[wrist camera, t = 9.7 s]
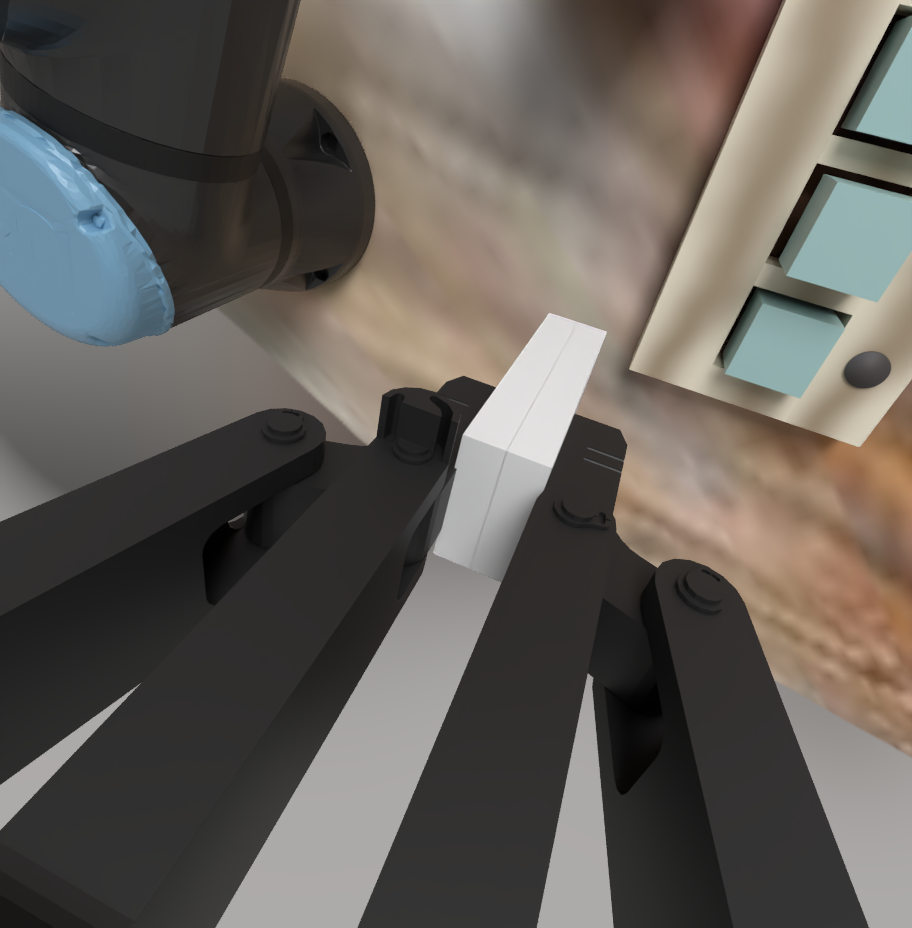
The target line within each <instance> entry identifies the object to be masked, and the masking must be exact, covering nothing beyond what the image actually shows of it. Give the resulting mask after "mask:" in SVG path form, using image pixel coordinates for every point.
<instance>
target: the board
mask: <svg viewBox="0 0 912 928" xmlns="http://www.w3.org/2000/svg"><path fill="white" fill-rule="evenodd" d="M894 14H897V15H902V16H906V17H909V16H911V15H912V0H783V1H782V3H781V6H780V8H779V10H778V13H777V15H776V17H775V20H774V22H773V24H772V27H771V29H770V32H769V34H768V36H767V39H766V41H765V43H764V46H763V48H762V51H761V53H760V55H759V58H758V60H757V62H756V65H755V67H754V69H753V72H752V74H751V77H750V79H749V81H748V84H747V86H746V88H745V91H744V93H743V96H742V98H741V100H740V103H739V105H738V107H737V110H736V112H735V114H734V117H733V119H732V122H731V124H730V126H729V129H728V131H727V133H726V136H725V138H724V141H723V143H722V145H721V148H720V150H719V152H718V155H717V157H716V159H715V162H714V164H713V167H712V169H711V171H710V174H709V176H708V178H707V181H706V183H705V186H704V188H703V190H702V193H701V195H700V197H699V200H698V202H697V204H696V207H695V209H694V212H693V214H692V216H691V219H690V221H689V223H688V226H687V228H686V231H685V233H684V235H683V238H682V240H681V242H680V245H679V247H678V249H677V252H676V254H675V257H674V259H673V261H672V264H671V266H670V268H669V271H668V273H667V276H666V278H665V280H664V283H663V285H662V287H661V290H660V292H659V294H658V297H657V299H656V302H655V304H654V306H653V309H652V311H651V313H650V316H649V318H648V321H647V323H646V325H645V328H644V330H643V332H642V335H641V337H640V339H639V342H638V344H637V347H636V349H635V351H634V354H633V357H632V361H631V364H630V368H629V370H632V371H635V372H638V373H641V374H644V375H647V376H650V377H653V378H656V379H659V380H662V381H665V382H668V383H671V384H674V385H677V386H680V387H683V388H686V389H689V390H692V391H695V392H698V393H700V394H703V395H706V396H709V397H712V398H715V399H718V400H721V401H724V402H727V403H730V404H733V405H736V406H739V407H742V408H745V409H748V410H751V411H754V412H757V413H760V414H763V415H766V416H769V417H772V418H774V419H777V420H780V421H783V422H786V423H789V424H792V425H795V426H798V427H801V428H804V429H807V430H810V431H813V432H816V433H819V434H822V435H825V436H828V437H831V438H834V439H837V440H840V441H843V442H845V443H848V444H851V445H854V446H857V447H860V446H861V445H862V444H863V442H864V441H865V440H866V438H867V437H868V436H869V434H870V433H871V432H872V430H873V429H874V428H875V426H876V425H877V424H878V423H879V421H880V420H881V419H882V417H883V416H884V415H885V413H886V412H887V411H888V409H889V408H890V407H891V405H892V404H893V403H894V402H895V400H896V399H897V398H898V396H899V395H900V394H901V392H902V391H903V390H904V388H905V387H906V386H907V384H908V383H909V382H910V381H911V379H912V251H911V253H910V254H909V256H908V257H907V259H906V260H905V262H904V263H903V265H902V266H901V268H900V269H899V271H898V272H897V274H896V275H895V277H894V278H893V280H892V281H891V283H890V284H889V286H888V287H887V289H886V290H885V292H884V293H883V295H882V296H881V298H880V299H879V301H878V302H873V301H870V300H867V299H863V298H860V297H857V296H853V295H850V294H846V293H843V292H840V291H836V290H833V289H829V288H826V287H823V286H819V285H816V284H813V283H809V282H806V281H802V280H799V279H796V278H792V277H789V276H786V274H785V272H784V270H783V268H782V266H781V264H780V262H779V258H777V257H773V256H770V253H771V251H772V249H773V247H774V245H775V243H776V241H777V239H778V237H779V235H780V233H781V231H782V230H783V228H784V226H785V224H786V222H787V220H788V218H789V216H790V214H791V212H792V210H793V208H794V206H795V204H796V203H797V201H798V199H799V197H800V195H801V193H802V191H803V189H804V187H805V185H806V183H807V181H808V179H809V178H810V176H811V174H812V172H813V170H814V168H815V166H816V164H817V163H819V164H823V165H827V166H831V167H834V168H838V169H842V170H846V171H850V172H854V173H857V174H861V175H865V176H869V177H873V178H877V179H880V180H884V181H888V182H892V183H896V184H900V185H903V186H907V187H911V188H912V155H911V154H907V153H903V152H899V151H895V150H891V149H887V148H883V147H879V146H875V145H871V144H867V143H863V142H859V141H856V140H852V139H848V138H844V137H840V136H836V135H832V133H833V131H834V129H835V127H836V125H837V124H838V122H839V120H840V118H841V116H842V114H843V112H844V110H845V108H846V106H847V104H848V102H849V100H850V98H851V97H852V95H853V93H854V91H855V89H856V87H857V85H858V83H859V81H860V79H861V77H862V75H863V73H864V71H865V70H866V68H867V66H868V64H869V62H870V60H871V58H872V56H873V54H874V52H875V50H876V48H877V46H878V44H879V43H880V41H881V39H882V37H883V35H884V33H885V31H886V29H887V27H888V25H889V23H890V21H891V19H892V18H893V16H894ZM909 196H910V197H912V192H911V194H910V195H909ZM753 286H757V287H760V288H763V289H767V290H770V291H773V292H777V293H780V294H783V295H787V296H790V297H793V298H797V299H800V300H803V301H807V302H810V303H813V304H817V305H820V306H823V307H827V308H830V309H833V310H836V311H837V312H836V315H837V317H838V318H839V320H840V321H841V323H842V324H843V326H844V328H845V330H844V332H843V333H842V335H841V336H840V338H839V339H838V341H837V342H836V344H835V346H834V347H833V349H832V350H831V352H830V353H829V355H828V356H827V358H826V360H825V361H824V363H823V364H822V366H821V367H820V369H819V370H818V372H817V373H816V375H815V377H814V378H813V380H812V381H811V383H810V384H809V386H808V387H807V389H806V390H805V392H804V394H803V395H802V397H801V398H797V397H794V396H791V395H788V394H784V393H781V392H778V391H775V390H772V389H769V388H766V387H763V386H760V385H757V384H754V383H751V382H748V381H745V380H742V379H739V378H736V377H733V376H730V375H727V374H725V370H724V359H723V353H720V352H719V351H720V349H721V347H722V345H723V343H724V341H725V339H726V338H727V336H728V334H729V332H730V330H731V328H732V326H733V324H734V322H735V320H736V318H737V316H738V314H739V312H740V311H741V309H742V307H743V305H744V303H745V301H746V299H747V297H748V295H749V293H750V291H751V289H752V287H753Z"/></svg>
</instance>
